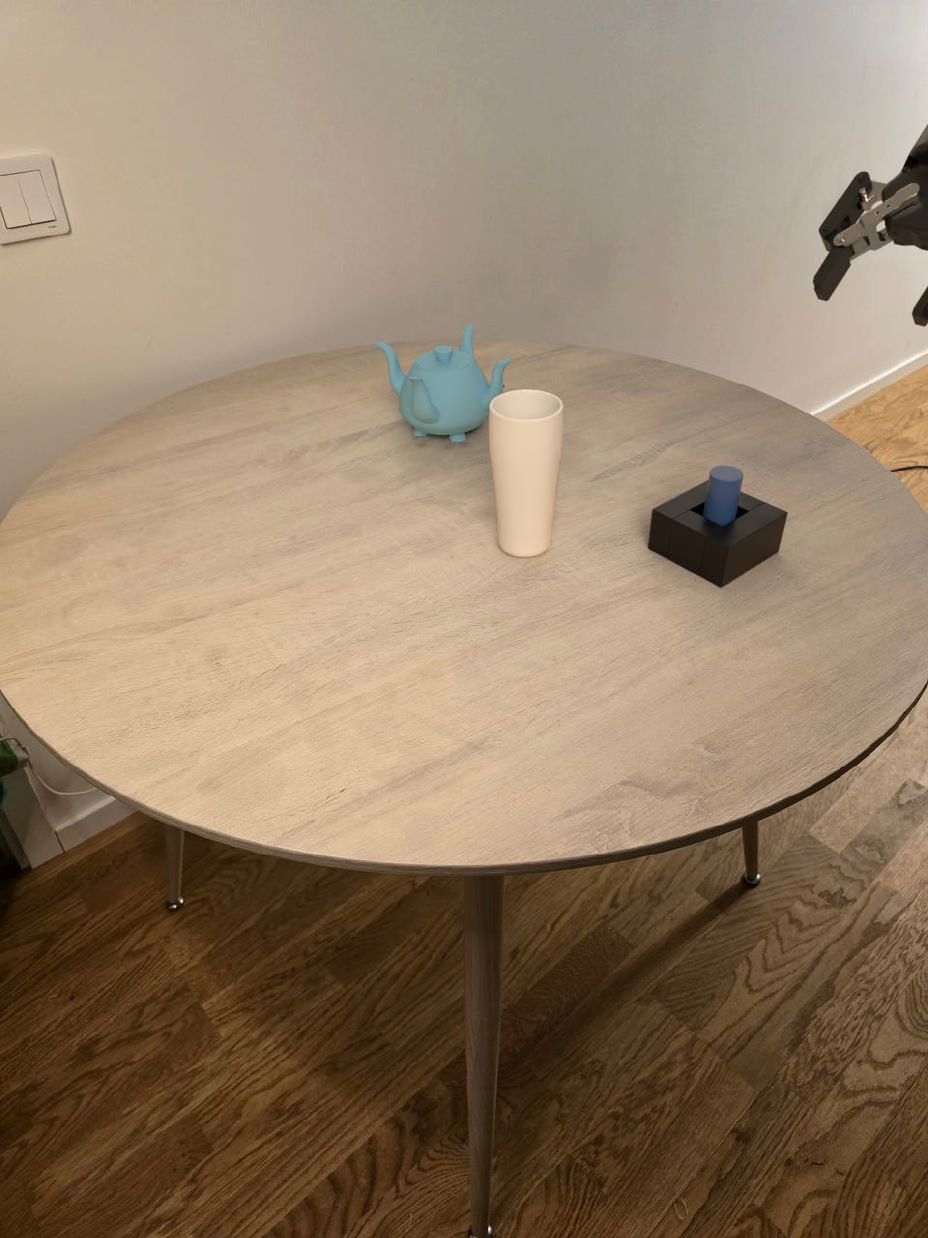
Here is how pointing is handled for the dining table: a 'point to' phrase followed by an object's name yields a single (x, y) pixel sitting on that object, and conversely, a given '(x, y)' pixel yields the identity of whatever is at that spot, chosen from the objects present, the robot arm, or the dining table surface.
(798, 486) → the dining table surface
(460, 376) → the teapot
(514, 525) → the drinking glass
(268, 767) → the dining table surface
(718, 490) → the handle
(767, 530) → the holder
